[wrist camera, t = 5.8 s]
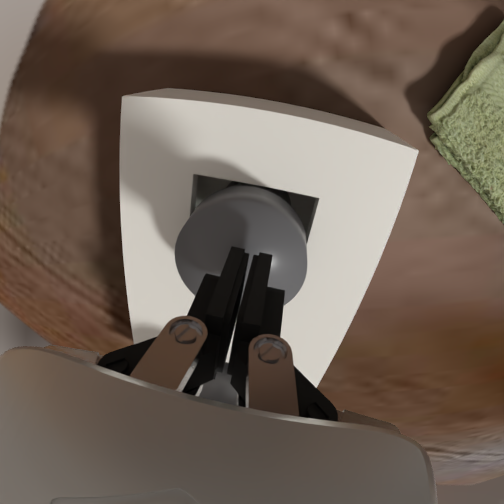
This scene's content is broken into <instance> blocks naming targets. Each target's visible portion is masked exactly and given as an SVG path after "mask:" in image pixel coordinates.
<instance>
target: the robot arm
mask: <svg viewBox="0 0 504 504" xmlns="http://www.w3.org/2000/svg"><path fill="white" fill-rule="evenodd" d="M272 257H273V255H271V254H267V253H262V252H259V255H253V259H252V262H251V266H250V270H249V274H248V278H247V281H246V285H245V289H244V293H243V297H242V292H243V287H244V281H245V276H246V270H247V265H248V259H249V253H245V249H243V248H238V247H234V246H232V247H231V249H230V251H229V254H228V257H227V259H226V262H225V264H224V267H223V270H222V272H221V275H220V276H216V275H212V274H207V273H206V274H205V276H204V278H203V280H202V282H201V284H200V287H199V289H198V291H197V293H196V296H195V298H194V300H193V303H192V305H191V307H190V309H189V312H188V314H187V316H179V317H175V318H173V319H171V320H170V321H169V322H168V323H167V324H166V325H165V327H164V328H163V329H162V331H161V332H160V334H159V335H158V336H157V337H154V338H151V339H148V340H146V341H143V342H140V343H137V344H134V345H131V346H128V347H125V348H122V349H119V350H116V351H113V352H110V353H108V354H106V355H104V356H100V355H99V353H98V352H92V351H85V350H79V349H73V348H67V347H62V346H56V345H49V346H46V347H44V348H41V347H28V346H23V347H15V348H12V349H9V350H7V351H5V352H4V353H3V354H1V355H0V504H438V503H437V492H436V484H435V478H434V473H433V469H432V465H431V461H430V458H429V456H428V454H427V452H426V451H425V449H424V448H423V447H422V446H421V445H420V444H419V443H417V442H416V441H415V440H413V439H411V438H409V437H407V436H405V435H403V434H401V433H400V430H399V429H398V428H397V427H396V426H395V425H393V424H391V423H389V422H385V421H382V420H378V419H375V418H371V417H368V416H364V415H361V414H358V413H354V412H351V411H348V410H345V409H344V410H343V412H342V411H339V410H336V408H335V407H334V406H333V404H332V403H331V402H330V401H329V400H328V399H327V398H326V397H325V396H324V395H323V394H322V393H321V392H320V391H319V390H318V389H317V388H316V387H315V386H314V385H313V384H312V383H311V382H310V381H309V380H308V379H307V378H306V377H305V376H304V375H303V374H302V373H301V372H300V371H299V370H298V369H297V368H296V367H295V366H294V363H293V355H292V350H291V347H290V345H289V344H288V343H287V341H285V340H284V339H283V338H281V337H280V335H281V326H282V317H283V307H284V297H285V290H281V289H277V288H272V287H267V286H268V280H269V274H270V268H271V262H272ZM241 298H242V300H241ZM240 303H241V304H240ZM235 323H236V325H235ZM234 327H235V330H234ZM233 331H234V336H233V341H232V347H231V353H230V358H229V364H228V370H227V374H229V375H232V377H231V382H230V384H231V385H232V387H233V388H234V389H235V390H236V392H237V393H238V394H237V405H231V404H227V403H222V402H218V401H214V400H210V399H205V398H201V397H198V396H199V395H200V393H201V391H202V388H203V384H205V383H207V382H209V381H211V380H213V379H215V378H216V374H217V372H220V373H222V372H223V369H224V365H225V361H226V358H227V354H228V350H229V346H230V342H231V339H232V335H233Z"/></svg>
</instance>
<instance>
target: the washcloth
mask: <svg viewBox="0 0 504 504" xmlns="http://www.w3.org/2000/svg"><path fill="white" fill-rule="evenodd" d="M427 117H428V119H429V121H430V122H431V123H432V125H431V126H429V127H430V128H431V129H432V130H433V131H435V133H434V134H432V135H431V136H430V140H431V142H432V143H433V144H434V145H435V149H436V150H438V151H439V152H440V154H441V155H442V156H443V157H444V158H445V159H446V161H447V162H448V165H449V164H452V166H453V167H455V168H456V169H457V170H458V171H459V172H460V174H461V176H462V177H463V178H464V179H465V180H467V181H468V182H469V183H470V184H471V185H472V188H474V189H475V190H476V192H478V193H479V194H480V196H481V198H482V199H483V200H484V201H485V202H486V203H487V205H488V206H489V208H491V209H492V210H494V211H495V214H496V215H497V216H498V219H499V220H500V221H502V223H503V224H504V20H503V21H502V23H501V24H500V25H499V26H498V28H496V30H495V31H493V32H492V33H491V34H490V35H489V36H488V37H487V38H486V39H485V40H484V41H483V43H481V44H480V45H479V47H478V48H477V49H476V50H475V51H474V52H473V54H472V56H471V57H470V59H469V60H468V62H467V64H466V66H465V70H464V71H463V72H462V73H461V74H460V75H459V77H458V78H457V79H456V80H455V82H454V83H453V84H452V86H451V87H450V89H449V90H448V91H447V93H446V94H445V95H444V96H443V98H442V99H441V100H440V101H439V102H438V103H437V104H436V105H435V106H434V107H433V108H432V109H431V110H430V111H429V112H428V114H427Z"/></svg>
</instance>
